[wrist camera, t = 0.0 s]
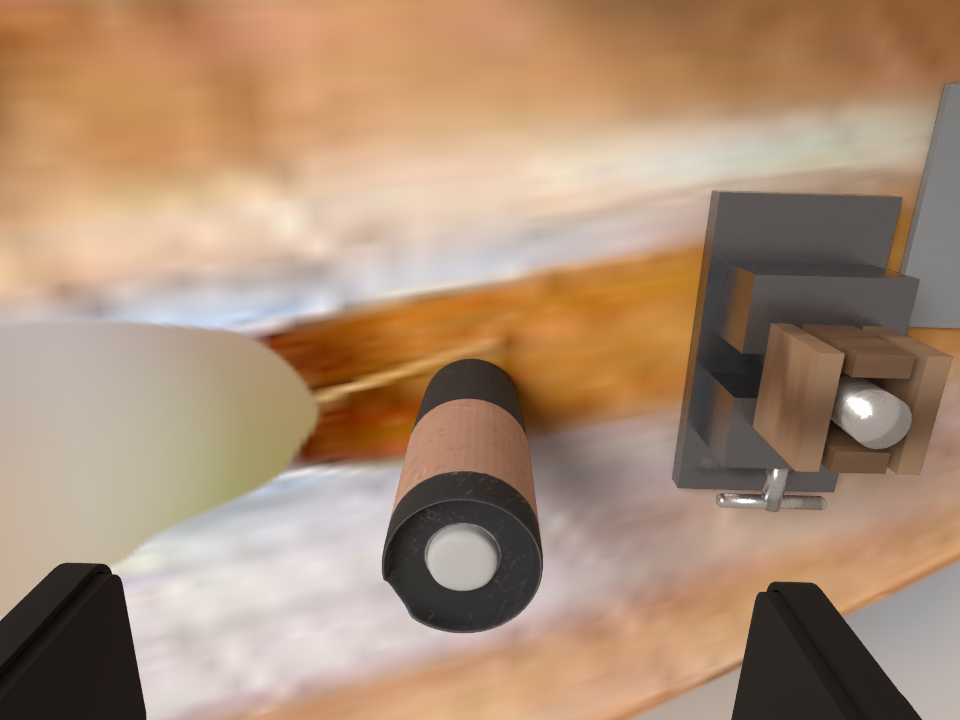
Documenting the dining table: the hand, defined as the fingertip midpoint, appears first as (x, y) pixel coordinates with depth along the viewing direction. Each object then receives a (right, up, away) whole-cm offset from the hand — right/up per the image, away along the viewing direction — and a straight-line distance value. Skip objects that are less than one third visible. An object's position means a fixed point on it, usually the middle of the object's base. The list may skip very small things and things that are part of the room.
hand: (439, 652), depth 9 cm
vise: (+22, +5, +37) cm, 43 cm away
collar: (+22, +3, +31) cm, 38 cm away
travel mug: (0, +1, +39) cm, 39 cm away
